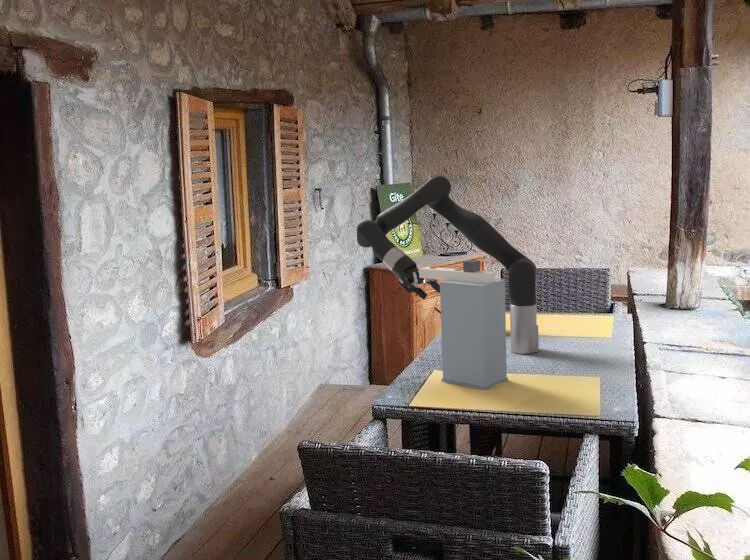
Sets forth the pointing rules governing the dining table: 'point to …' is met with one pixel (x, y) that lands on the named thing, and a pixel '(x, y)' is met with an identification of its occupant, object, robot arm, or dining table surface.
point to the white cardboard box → (459, 273)
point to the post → (473, 333)
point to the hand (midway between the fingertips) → (433, 294)
